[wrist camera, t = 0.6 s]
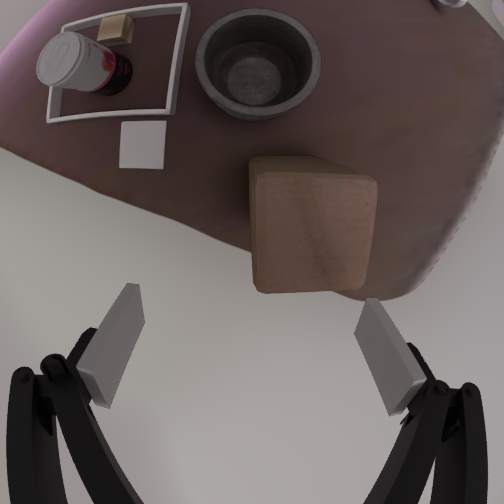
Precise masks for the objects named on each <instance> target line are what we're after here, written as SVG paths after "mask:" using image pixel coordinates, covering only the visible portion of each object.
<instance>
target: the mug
mask: <svg viewBox="0 0 504 504" xmlns="http://www.w3.org/2000/svg"><path fill="white" fill-rule="evenodd" d="M438 1H439V2H441V3H442V4H443V5H445V6H447V7H451V8H459V7H461V6H463V5H464V4H465V3H466V2H467V0H458V1H457V2H455V3H449V2H447V1H445V0H438Z"/></svg>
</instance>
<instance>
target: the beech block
mask: <svg viewBox="0 0 504 504" xmlns="http://www.w3.org/2000/svg"><path fill="white" fill-rule="evenodd" d="M134 27H135V21H134V20H133V19H132V18H131V17H129V16H128V15H127V14H121V15H116V16H111V17H106V18H102V21H101V24H100V28H99V32H98V37H97V41H98V42H100V43H101V44H103V45H105V46H107V47H111V46H117V45H124V44H131V40H132V36H133V31H134Z"/></svg>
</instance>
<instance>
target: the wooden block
mask: <svg viewBox="0 0 504 504" xmlns="http://www.w3.org/2000/svg"><path fill="white" fill-rule="evenodd" d="M377 194H378V188H377V183H376V181H375V180H374V179H373V178H371V177H369V176H367V175H365V174H362V173H360V172H357V171H354V170H352V169H349V168H346V167H344V166H341V165H338V164H335V163H332V162H330V161H327V160H324V159H321V158H318V157H315V156H284V155H259V156H254V157H251V158H250V161H249V205H250V233H251V252H252V270H253V283H254V285H255V287H256V289H257V290H258V291H259V292H262V293H265V294H269V293H296V292H317V291H336V290H351V289H358V288H360V287H362V286H363V285H364V283H365V280H366V275H367V269H368V263H369V257H370V251H371V244H372V237H373V230H374V222H375V214H376V205H377Z"/></svg>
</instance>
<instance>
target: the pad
mask: <svg viewBox="0 0 504 504" xmlns="http://www.w3.org/2000/svg"><path fill="white" fill-rule="evenodd" d="M166 129H167V121H126V122H122V125H121V140H120V163H119V168H149V169H164V155H165V141H166Z"/></svg>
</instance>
